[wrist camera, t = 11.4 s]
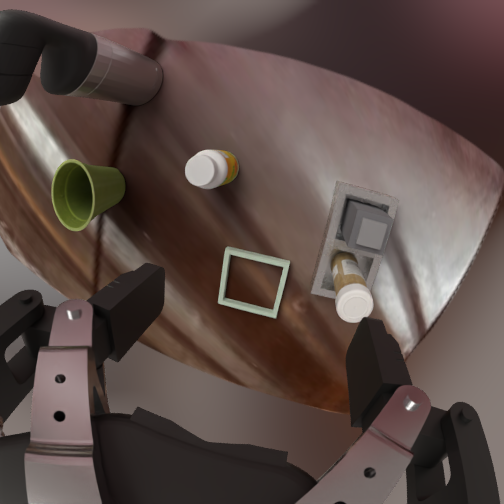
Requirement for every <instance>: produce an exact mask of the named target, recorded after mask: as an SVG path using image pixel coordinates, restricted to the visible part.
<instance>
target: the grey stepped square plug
mask: <svg viewBox="0 0 504 504" xmlns="http://www.w3.org/2000/svg"><path fill="white" fill-rule="evenodd" d="M393 220H394V219H393V218H392V217H390V216H389V215H388V214H386V213H385V212H384V211H383V210H381V209H380V208H379V207H377V206H375V205H371V204H368V203H364V202H360V201H357V200H353V199H349V198H347V202H346V206H345V210H344V214H343V218H342V222H341V226H340V230H341V232H342V235H343V237H344V239H345V242H346V244H347V247H350V248H354V249H358V250H362V251H366V252H370V253H374V254H377V255H381V256H383V253H384V250H385V247H386V244H387V240H388V237H389V234H390V231H391V227H392V224H393Z"/></svg>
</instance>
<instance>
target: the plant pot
mask: <svg viewBox="0 0 504 504" xmlns="http://www.w3.org/2000/svg"><path fill="white" fill-rule="evenodd" d="M124 193H125V180H124V177H123V175H122V174H121V173H120V172H119V170H118V169H116V168H112V167H103V166H93V165H87V164H84V163H81V162H80V161H78V160H74V159H70V160H67V161H65V162H63V163H62V164H61V165H60V166H59V167H58V169H57V171H56V173H55V175H54V178H53V182H52V202H53V206H54V210H55V213H56V215H57V217H58V219H59V220H60V222H61V223H62V224H63V225H64V226H65V227H66V228H68V229H70V230H72V231H80V230H83V229H84V228H85V227H86V226H87V225H88V224H89V223H90V221H91V220H93V219H94V218H95V217H96V216H97V215H99V214H100V213H102V212H103V211H105V210H107V209H108V208H110V207H112V206H114V205H115V204H117V203H118V202H119V201H120V200H121V199H122V198H123V196H124Z"/></svg>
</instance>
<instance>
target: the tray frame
mask: <svg viewBox="0 0 504 504" xmlns="http://www.w3.org/2000/svg"><path fill="white" fill-rule="evenodd" d="M231 255H235V256H239V257H243V258H247V259H251V260H256V261H260V262H264V263H268V264H272V265H277V266H281V267H284V268H283V272H282V276H281V281H280V285H279V289H278V293H277V297H276V301H275V305H274V309H273V310H271V309H267V308H263V307H259V306H255V305H251V304H247V303H243V302H240V301H236V300H232V299H228V298H225V291H226V285H227V278H228V271H229V264H230V258H231ZM289 265H290V261H288V260H284V259H280V258H275V257H271V256H267V255H262V254H258V253H254V252H250V251H245V250H241V249H237V248H233V247H228V246H227V247H226V248H225V255H224V262H223V269H222V276H221V284H220V291H219V299H218V303H219V304H222V305H226V306H230V307H233V308H237V309H241V310H245V311H249V312H253V313H257V314H261V315H265V316H269V317H273V318H276V316H277V312H278V308H279V304H280V300H281V297H282V293H283V289H284V285H285V281H286V277H287V273H288V269H289Z"/></svg>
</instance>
